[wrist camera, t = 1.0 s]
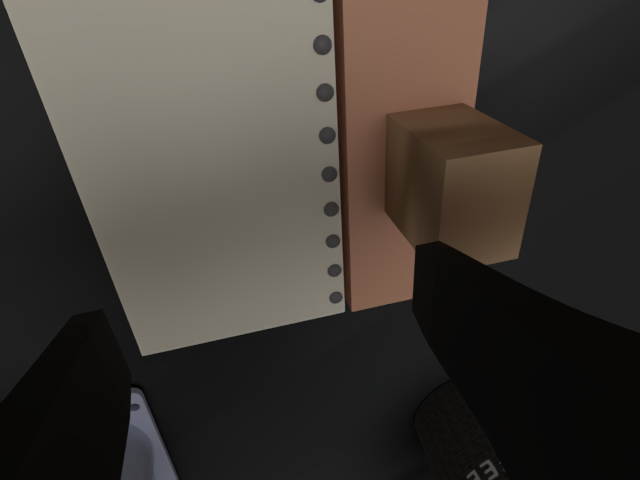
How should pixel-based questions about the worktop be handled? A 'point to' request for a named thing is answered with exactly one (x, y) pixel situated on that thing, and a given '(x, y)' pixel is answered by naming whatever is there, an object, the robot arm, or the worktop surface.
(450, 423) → the coffee cup
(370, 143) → the stub
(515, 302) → the robot arm
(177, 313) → the pad
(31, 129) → the worktop surface
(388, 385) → the worktop surface
